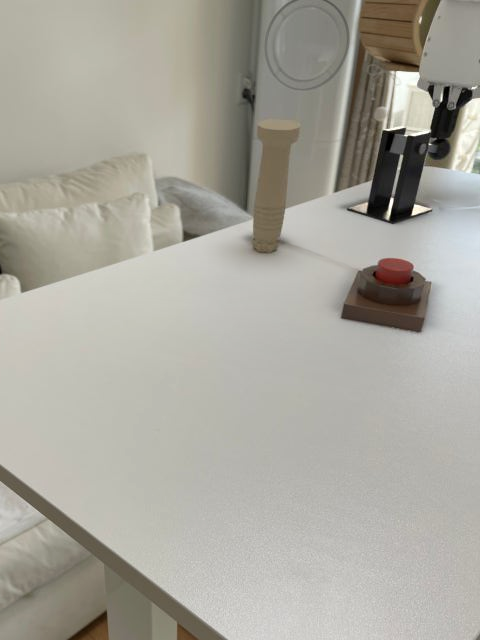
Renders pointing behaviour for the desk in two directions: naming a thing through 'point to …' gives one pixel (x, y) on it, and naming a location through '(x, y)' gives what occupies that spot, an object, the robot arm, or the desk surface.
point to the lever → (435, 148)
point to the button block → (387, 301)
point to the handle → (272, 181)
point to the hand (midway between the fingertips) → (439, 137)
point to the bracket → (407, 182)
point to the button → (394, 271)
